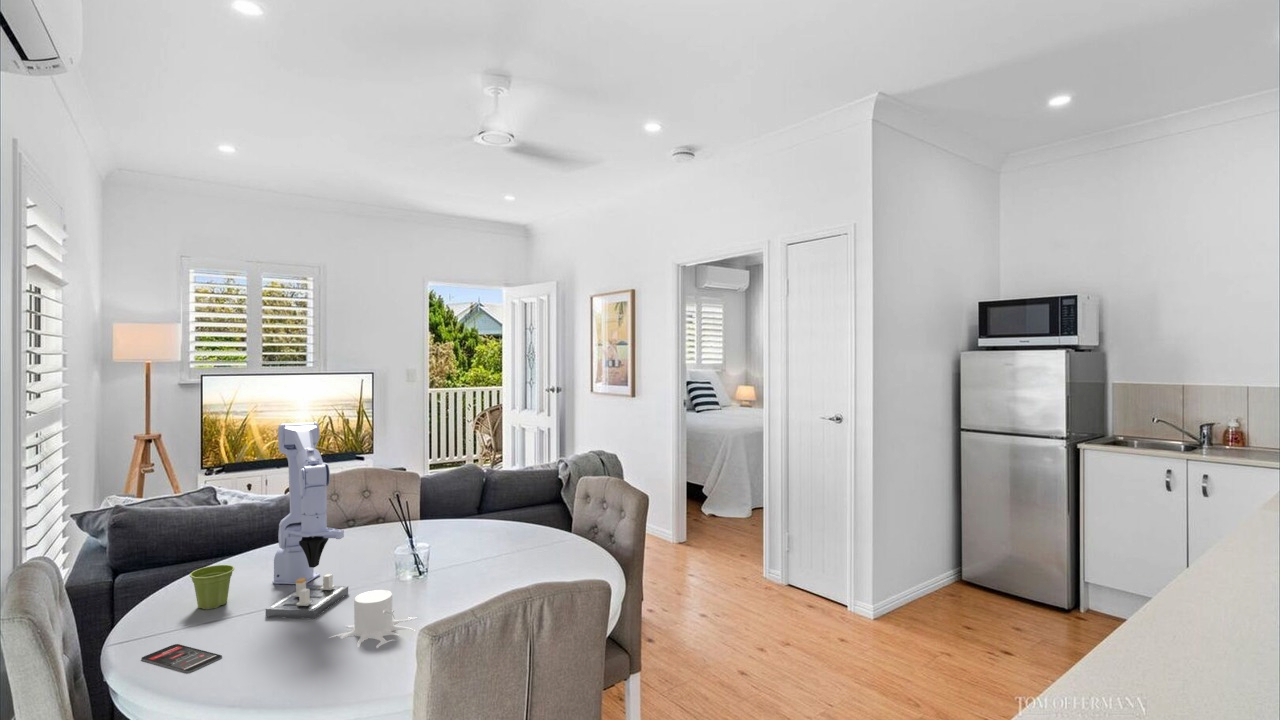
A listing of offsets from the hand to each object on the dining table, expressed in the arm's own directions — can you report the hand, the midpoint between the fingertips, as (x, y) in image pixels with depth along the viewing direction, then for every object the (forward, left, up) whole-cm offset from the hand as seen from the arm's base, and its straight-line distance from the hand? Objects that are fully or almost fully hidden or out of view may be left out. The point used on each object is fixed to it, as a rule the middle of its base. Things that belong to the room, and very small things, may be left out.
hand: (313, 566), depth 161 cm
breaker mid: (-3, 0, -7) cm, 8 cm away
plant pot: (-25, -2, -10) cm, 27 cm away
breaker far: (+1, +5, -8) cm, 9 cm away
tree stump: (+22, -12, -10) cm, 27 cm away
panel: (-1, 0, -10) cm, 10 cm away
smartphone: (-11, -29, -10) cm, 33 cm away
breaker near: (+1, -5, -7) cm, 9 cm away
